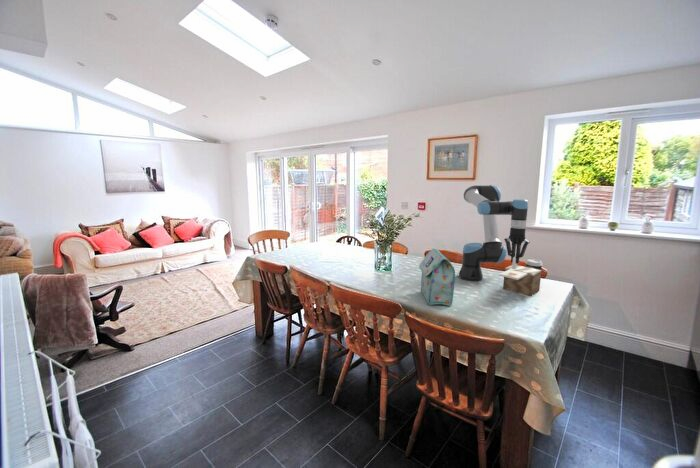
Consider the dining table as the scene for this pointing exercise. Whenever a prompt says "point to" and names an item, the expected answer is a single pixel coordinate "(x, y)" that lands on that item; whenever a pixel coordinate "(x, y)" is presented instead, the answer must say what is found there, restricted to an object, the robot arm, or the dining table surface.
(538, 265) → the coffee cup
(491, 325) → the dining table surface
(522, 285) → the cardboard box
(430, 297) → the lunch bag
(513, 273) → the white flat panel
